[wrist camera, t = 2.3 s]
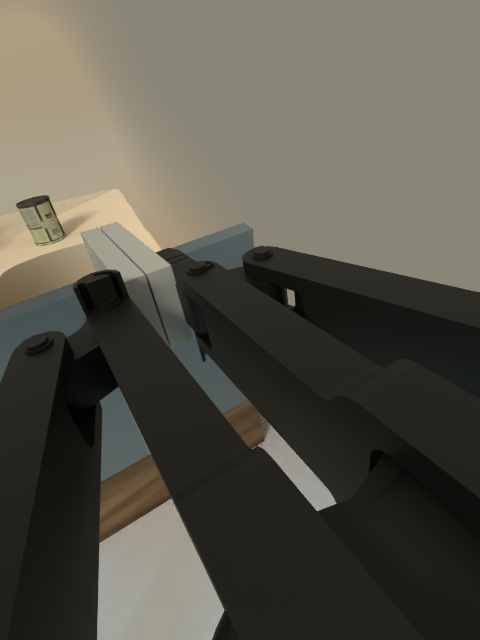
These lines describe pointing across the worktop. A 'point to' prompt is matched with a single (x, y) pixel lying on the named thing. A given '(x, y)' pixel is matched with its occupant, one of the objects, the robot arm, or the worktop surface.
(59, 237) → the coffee can
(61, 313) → the lid
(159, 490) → the walnut box
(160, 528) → the worktop surface
